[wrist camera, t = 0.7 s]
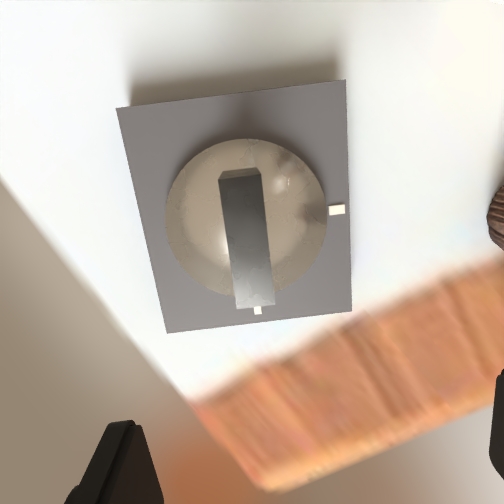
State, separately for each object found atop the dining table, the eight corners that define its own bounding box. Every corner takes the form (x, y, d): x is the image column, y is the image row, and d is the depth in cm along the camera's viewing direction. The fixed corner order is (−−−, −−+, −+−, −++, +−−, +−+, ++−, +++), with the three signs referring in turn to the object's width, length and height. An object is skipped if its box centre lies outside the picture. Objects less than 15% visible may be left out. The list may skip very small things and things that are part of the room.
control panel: (129, 111, 26) (114, 107, 23) (334, 86, 26) (346, 78, 23) (173, 316, 32) (166, 334, 29) (341, 295, 32) (352, 312, 29)
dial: (152, 149, 24) (122, 152, 18) (319, 128, 24) (347, 124, 18) (183, 300, 28) (166, 345, 22) (327, 282, 28) (352, 323, 21)
